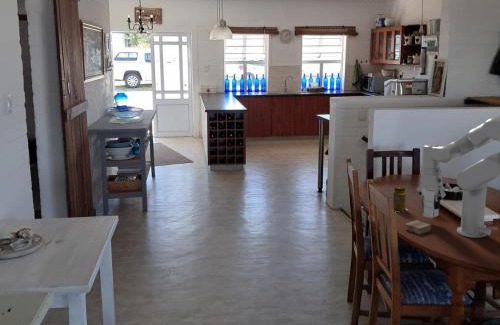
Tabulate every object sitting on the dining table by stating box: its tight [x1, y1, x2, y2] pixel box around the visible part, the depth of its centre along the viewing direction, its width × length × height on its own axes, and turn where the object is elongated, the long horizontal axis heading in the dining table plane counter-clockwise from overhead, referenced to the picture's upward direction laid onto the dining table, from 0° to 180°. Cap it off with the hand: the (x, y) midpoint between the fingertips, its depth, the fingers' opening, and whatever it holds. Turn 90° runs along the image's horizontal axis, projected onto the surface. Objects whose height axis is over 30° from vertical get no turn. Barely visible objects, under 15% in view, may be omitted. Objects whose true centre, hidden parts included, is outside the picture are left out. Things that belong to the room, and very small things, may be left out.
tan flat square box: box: [404, 219, 432, 236], centre depth 237 cm, size 8×8×3 cm
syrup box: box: [421, 187, 440, 219], centre depth 243 cm, size 6×6×14 cm
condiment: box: [392, 186, 409, 213], centre depth 266 cm, size 7×8×12 cm
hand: (430, 207), depth 243 cm, fingers closed on syrup box, 6 cm apart
